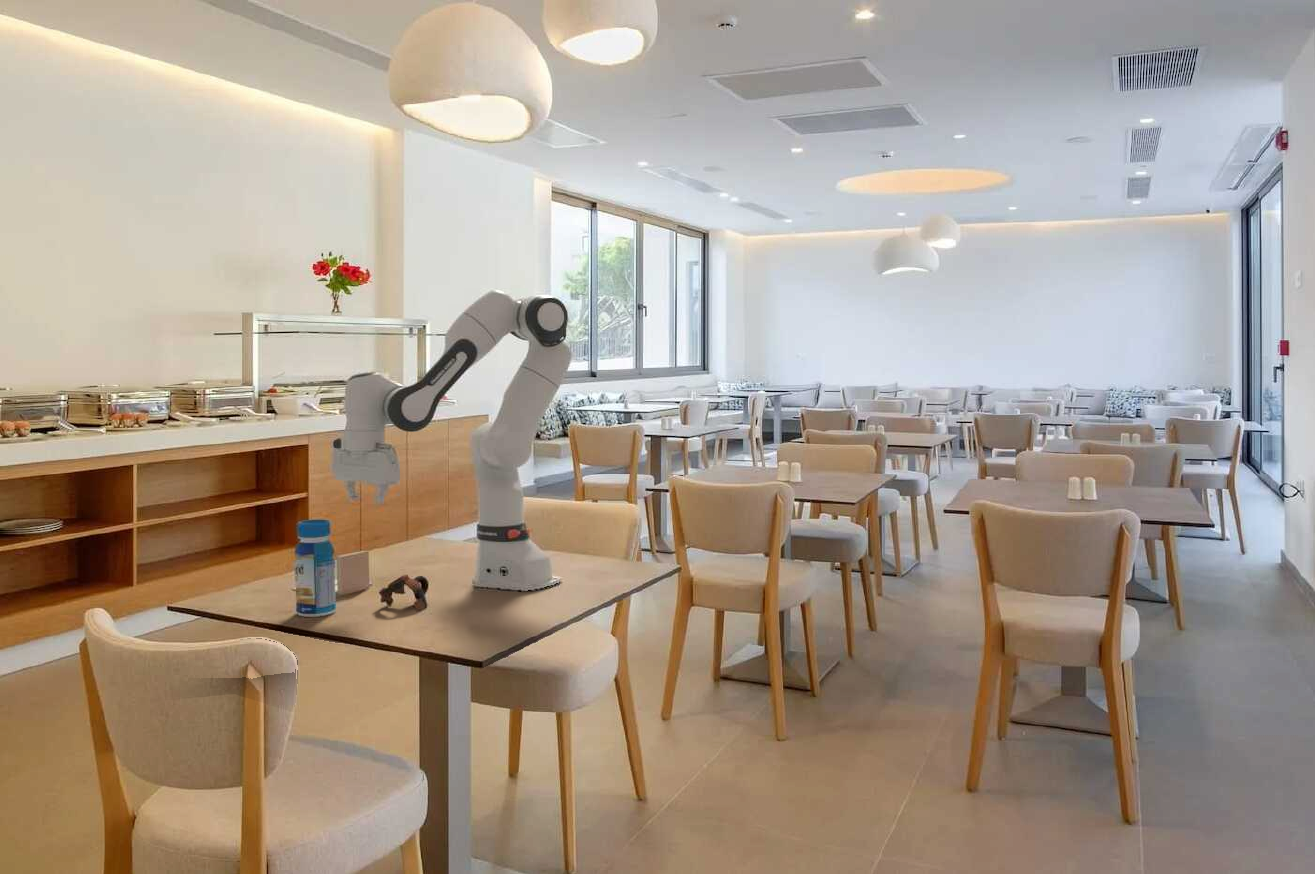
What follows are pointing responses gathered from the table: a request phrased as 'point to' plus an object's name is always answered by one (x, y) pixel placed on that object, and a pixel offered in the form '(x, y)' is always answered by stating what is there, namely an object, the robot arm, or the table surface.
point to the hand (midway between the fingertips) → (366, 501)
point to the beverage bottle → (314, 569)
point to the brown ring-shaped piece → (398, 588)
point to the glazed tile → (352, 572)
